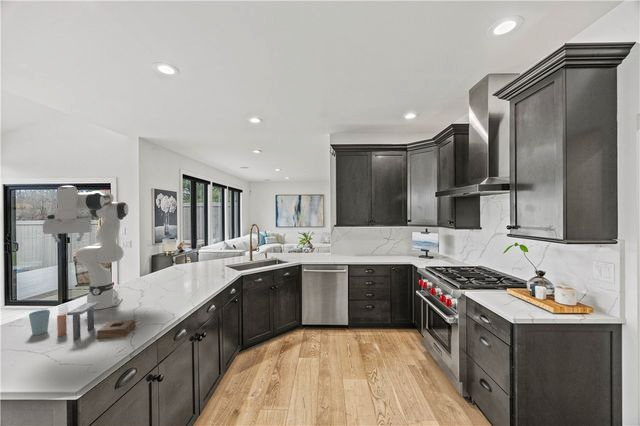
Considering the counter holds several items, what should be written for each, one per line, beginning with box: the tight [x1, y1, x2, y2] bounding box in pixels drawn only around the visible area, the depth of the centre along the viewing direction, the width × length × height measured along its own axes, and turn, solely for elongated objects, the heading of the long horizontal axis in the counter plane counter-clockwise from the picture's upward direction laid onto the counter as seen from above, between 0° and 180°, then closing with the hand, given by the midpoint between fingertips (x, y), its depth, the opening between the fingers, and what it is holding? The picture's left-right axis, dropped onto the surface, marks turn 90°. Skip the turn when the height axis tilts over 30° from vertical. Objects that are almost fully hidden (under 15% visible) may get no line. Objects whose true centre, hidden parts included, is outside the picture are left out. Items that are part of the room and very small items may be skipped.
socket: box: [96, 319, 137, 340], centre depth 147 cm, size 12×12×4 cm
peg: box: [56, 313, 68, 337], centre depth 146 cm, size 3×3×10 cm
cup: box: [28, 309, 51, 336], centre depth 149 cm, size 8×8×10 cm
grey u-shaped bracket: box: [66, 302, 98, 341], centre depth 147 cm, size 15×6×13 cm, turn 12°
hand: (68, 241), depth 158 cm, fingers open, 8 cm apart
